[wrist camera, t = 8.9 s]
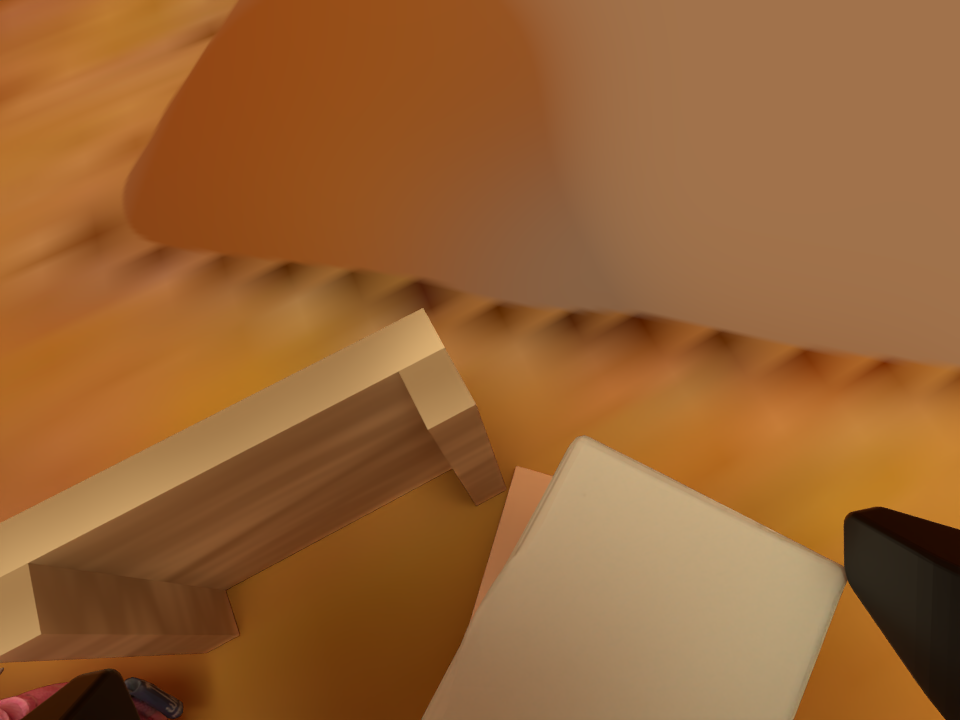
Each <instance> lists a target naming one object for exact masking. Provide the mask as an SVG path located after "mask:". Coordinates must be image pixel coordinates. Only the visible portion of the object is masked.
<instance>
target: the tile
mask: <svg viewBox="0 0 960 720" xmlns="http://www.w3.org/2000/svg"><path fill="white" fill-rule="evenodd" d="M552 477H553V476H550V475H547V474H543V473H540V472H536V471H533V470H529V469H526V468H522V467H519V466H516V469H515V472H514V476H513V479H512V482H511V486H510V489H509V492H508V496H507V499H506V502H505V506H504V509H503V513H502V516H501V519H500V523H499V526H498V529H497V533H496V536H495V539H494V543H493V546H492V549H491V553H490V556H489V559H488V563H487V566H486V569H485V573H484V576H483V579H482V583H481V586H480V589H479V593H478V596H477V600H476V603H475V606H474V610H473V613H472V616H471V620H472V618H473V616H474V614H475V613H476V611H477V609H478V607H479V605H480V604H481V602H482V600H483V598H484V597H485V595H486V593H487V592H488V590H489V589H490V587H491V585H492V584H493V582H494V581H495V579H496V578H497V576H498V575H499V573H500V572H501V570H502V569H503V567H504V565H505V564H506V562H507V560H508V558H509V556H510V555H511V553H512V551H513V549H514V548H515V546H516V544H517V542H518V540H519V538H520V537H521V535H522V533H523V531H524V529H525V528H526V526H527V524H528V522H529V520H530V518H531V516H532V515H533V513H534V511H535V509H536V507H537V505H538V504H539V502H540V500H541V498H542V496H543V494H544V493H545V491H546V489H547V487H548V485H549V483H550V481H551V479H552ZM471 620H470V622H471ZM469 624H470V623H469Z"/></svg>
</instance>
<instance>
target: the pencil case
mask: <svg viewBox="0 0 960 720" xmlns="http://www.w3.org/2000/svg"><path fill="white" fill-rule="evenodd" d="M3 670H4V668H0V674H1V673H2V672H3ZM124 682H125V684H126V687H127V689H128V691H129V693H130V696H131V698H132V700H133V702H134V705H135V707H136V709H137V711H138V714H139V716H140V720H168V719H167V718H172V719H175V718H178V717H180V716H181V714H182V713H183V703H182V702H181V701H179V700H178V699H177V698H175V697H173V696H171V695H169V694H167V693H166V692H164V691H163V690H161V689H160V688H158V687H157V686H155V685H154V684H152V683H150V682H147V681H145V680H142V679H138V678H134V677H132V678H129V679H126V680H125V681H124ZM67 683H69V682H66V683H58V684H53V685H49V686H45V687H41V688H37V689H34V690H31V691H28V692H25V693H23V694H21V695H18V696H14V697H10V698H6V699H2V700H0V720H20V719H22V718H23V717H24V716H26V715H27V714H28V713H30V712H31V711H32V710H33V709H35V708H36V707H37V706H39V705H40V704H41V703H43V702H44V701H45V700H47V699H48V698H49V697H50V696H52V695H53V694H54V693H56V692H57V691H58V690H60V689H61V688H62V687H64V686H65V685H66V684H67ZM166 717H167V718H166Z"/></svg>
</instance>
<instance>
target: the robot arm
mask: <svg viewBox="0 0 960 720" xmlns="http://www.w3.org/2000/svg"><path fill="white" fill-rule="evenodd" d="M844 568H845V573H846V577H847V580H848V582H849V584H850V586H851V588H852V589H853V591H854V592H855V594H856V595H857V596H858V598H859V599H860V601H861V602H862V604H863V605H864V607H865V608H866V610H867V611H868V612H869V614H870V615H871V617H872V618H873V620H874V621H875V623H876V624H877V626H878V627H879V628H880V630H881V631H882V633H883V634H884V636H885V637H886V639H887V640H888V641H889V643H890V644H891V646H892V647H893V649H894V650H895V652H896V653H897V655H898V656H899V657H900V659H901V660H902V662H903V663H904V665H905V666H906V668H907V669H908V670H909V672H910V673H911V675H912V676H913V678H914V679H915V681H916V682H917V683H918V685H919V686H920V687H921V689H922V690H923V692H924V693H925V694H926V696H927V697H928V698H929V700H930V701H931V702H932V703H933V705H934V706H935V707H936V708H937V710H938V711H939V712H940V713H941V715H942V716H943V717H944V718H945V719H946V720H960V530H959V529H956V528H952V527H949V526H945V525H942V524H939V523H935V522H932V521H928V520H925V519H922V518H918V517H915V516H911V515H908V514H905V513H901V512H898V511H894V510H891V509H888V508H884V507H872V508H868V509H863V510H858V511H853V512H850V513H849V514H848V515H847V516H846V517H845V520H844ZM20 720H140V716H139V714H138V711H137V709H136V707H135V705H134V702H133V700H132V698H131V696H130V693H129V691H128V689H127V687H126V684H125V682H124V680H123V678H122V676H121V674H120V673H119V672H118V671H117V670H114V669H104V670H100V671H95V672H90V673H85V674H82V675H79V676H77V677H76V678H74V679H73V680H71V681H70V682H69V683H67V684H66V685H65V686H64V687H62V688H61V689H60V690H58V691H57V692H56V693H54V694H53V695H52V696H50V697H49V698H48V699H47V700H45V701H44V702H43V703H41V704H40V705H39V706H37V707H36V708H35V709H33V710H32V711H31V712H30V713H28V714H27V715H26V716H24V717H23V718H22V719H20Z"/></svg>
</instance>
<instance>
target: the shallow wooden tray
mask: <svg viewBox="0 0 960 720" xmlns="http://www.w3.org/2000/svg"><path fill="white" fill-rule="evenodd" d="M451 469H453V470H454V472H455V473H456V475H457V476H458V478H459V480H460V481H461V483H462V484H463V486H464V487H465V489H466V491H467V492H468V494H469V495H470V497H471V498H472V500H473V502H474V503H475V505H476V506H478V505H479V504H481V503H483V502H485V501H487V500H489V499H490V498H492V497H494V496H496V495H498V494H500V493H501V492H503V491H505V490H507V489H506V486H505V484H504V481H503V478H502V475H501V472H500V470H499V467H498V464H497V461H496V458H495V456H494V453H493V450H492V447H491V445H490V442H489V439H488V436H487V433H486V431H485V428H484V425H483V422H482V420H481V417H480V414H479V411H478V408H477V406H476V403H475V402H474V400H473V398H472V396H471V394H470V392H469V391H468V389H467V387H466V385H465V383H464V382H463V380H462V378H461V376H460V374H459V372H458V371H457V369H456V367H455V365H454V363H453V362H452V360H451V358H450V356H449V354H448V352H447V351H446V349H445V347H444V345H443V343H442V342H441V340H440V338H439V336H438V334H437V333H436V331H435V329H434V327H433V325H432V323H431V322H430V320H429V318H428V316H427V314H426V313H425V311H424V309H423V308H422V309H420V310H418V311H416V312H414V313H412V314H410V315H408V316H406V317H404V318H402V319H400V320H399V321H397V322H395V323H393V324H391V325H389V326H387V327H385V328H383V329H381V330H379V331H377V332H375V333H373V334H371V335H369V336H367V337H365V338H363V339H361V340H359V341H357V342H355V343H353V344H351V345H349V346H347V347H345V348H344V349H342V350H340V351H338V352H336V353H334V354H332V355H330V356H328V357H326V358H324V359H322V360H320V361H318V362H316V363H314V364H312V365H310V366H308V367H306V368H304V369H302V370H300V371H298V372H296V373H294V374H292V375H290V376H288V377H287V378H285V379H283V380H281V381H279V382H277V383H275V384H273V385H271V386H269V387H267V388H265V389H263V390H261V391H259V392H257V393H255V394H253V395H251V396H249V397H247V398H245V399H243V400H241V401H239V402H237V403H235V404H233V405H231V406H230V407H228V408H226V409H224V410H222V411H220V412H218V413H216V414H214V415H212V416H210V417H208V418H206V419H204V420H202V421H200V422H198V423H196V424H194V425H192V426H190V427H188V428H186V429H184V430H182V431H180V432H178V433H176V434H175V435H173V436H171V437H169V438H167V439H165V440H163V441H161V442H159V443H157V444H155V445H153V446H151V447H149V448H147V449H145V450H143V451H141V452H139V453H137V454H135V455H133V456H131V457H129V458H127V459H125V460H123V461H121V462H119V463H118V464H116V465H114V466H112V467H110V468H108V469H106V470H104V471H102V472H100V473H98V474H96V475H94V476H92V477H90V478H88V479H86V480H84V481H82V482H80V483H78V484H76V485H74V486H72V487H70V488H68V489H66V490H64V491H63V492H61V493H59V494H57V495H55V496H53V497H51V498H49V499H47V500H45V501H43V502H41V503H39V504H37V505H35V506H33V507H31V508H29V509H27V510H25V511H23V512H21V513H19V514H17V515H15V516H13V517H11V518H9V519H7V520H6V521H4V522H2V523H0V663H5V662H26V661H47V660H69V659H90V658H111V657H133V656H154V655H175V654H197V653H208V652H210V651H211V650H213V649H215V648H217V647H219V646H221V645H222V644H224V643H226V642H228V641H230V640H232V639H233V638H235V637H237V636H239V631H238V628H237V625H236V622H235V619H234V615H233V612H232V609H231V606H230V603H229V600H228V596H227V593H226V590H227V589H229V588H231V587H233V586H235V585H236V584H238V583H240V582H242V581H244V580H246V579H248V578H249V577H251V576H253V575H255V574H257V573H259V572H261V571H263V570H264V569H266V568H268V567H270V566H272V565H274V564H276V563H277V562H279V561H281V560H283V559H285V558H287V557H289V556H290V555H292V554H294V553H296V552H298V551H300V550H302V549H304V548H305V547H307V546H309V545H311V544H313V543H315V542H317V541H318V540H320V539H322V538H324V537H326V536H328V535H330V534H331V533H333V532H335V531H337V530H339V529H341V528H343V527H345V526H346V525H348V524H350V523H352V522H354V521H356V520H358V519H359V518H361V517H363V516H365V515H367V514H369V513H371V512H372V511H374V510H376V509H378V508H380V507H382V506H384V505H385V504H387V503H389V502H391V501H393V500H395V499H397V498H399V497H400V496H402V495H404V494H406V493H408V492H410V491H412V490H413V489H415V488H417V487H419V486H421V485H423V484H425V483H426V482H428V481H430V480H432V479H434V478H436V477H438V476H440V475H441V474H443V473H445V472H447V471H449V470H451Z"/></svg>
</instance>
